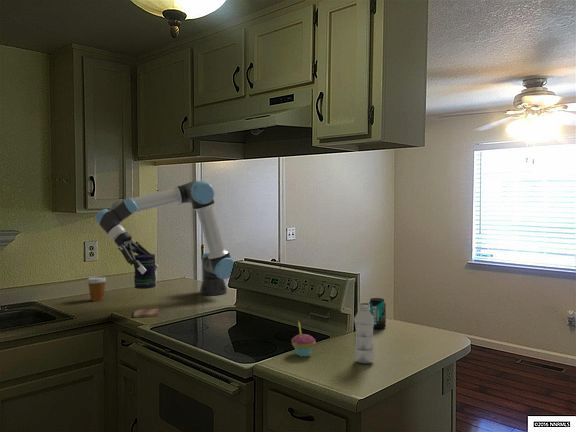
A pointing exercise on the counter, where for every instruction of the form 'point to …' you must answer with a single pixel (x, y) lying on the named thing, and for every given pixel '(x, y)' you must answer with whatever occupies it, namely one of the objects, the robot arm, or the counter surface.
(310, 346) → the cupcake
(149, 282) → the storage jar
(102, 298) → the disposable coffee cup
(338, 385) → the counter surface
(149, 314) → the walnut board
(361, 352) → the plastic bottle
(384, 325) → the beverage can
